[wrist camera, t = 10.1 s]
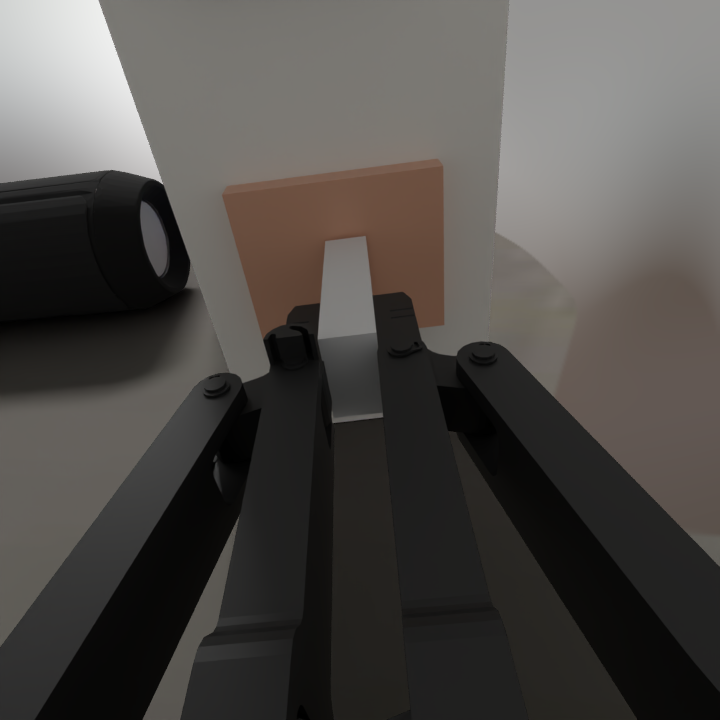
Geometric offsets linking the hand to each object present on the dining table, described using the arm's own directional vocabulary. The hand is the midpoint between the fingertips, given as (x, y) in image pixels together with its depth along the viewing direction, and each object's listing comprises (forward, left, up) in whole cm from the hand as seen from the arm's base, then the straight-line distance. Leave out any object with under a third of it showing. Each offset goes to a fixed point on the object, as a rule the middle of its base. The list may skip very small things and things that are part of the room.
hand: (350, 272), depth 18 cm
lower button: (0, +4, -3) cm, 5 cm away
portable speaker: (-26, +18, -9) cm, 33 cm away
